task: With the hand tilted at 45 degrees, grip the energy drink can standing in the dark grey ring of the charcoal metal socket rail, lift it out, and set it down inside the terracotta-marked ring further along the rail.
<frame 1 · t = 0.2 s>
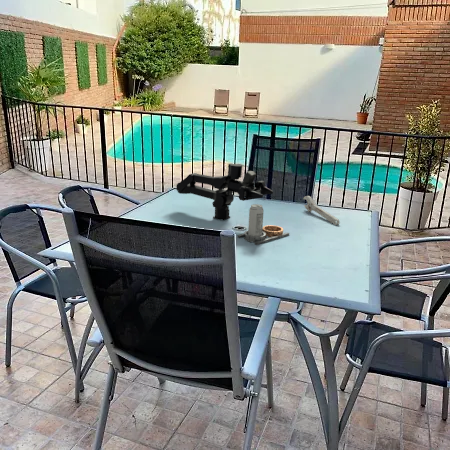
hand: (268, 194, 194), 17 cm above the table, tool horizontal, fingers open, 9 cm apart
wrench: (319, 217, 222), on the table
energy drink can: (254, 239, 186), resting in socket rail
socket rail: (263, 236, 190), on the table
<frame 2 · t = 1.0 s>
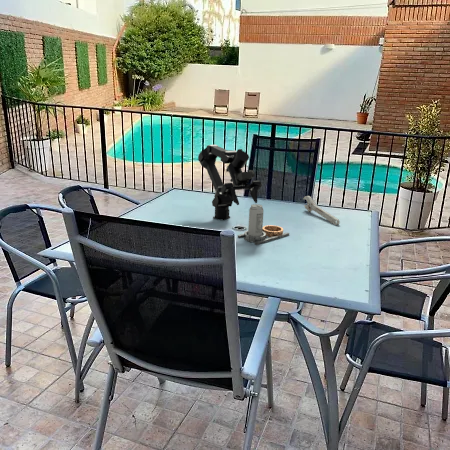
hand: (247, 203, 188), 14 cm above the table, tool tilted 45°, fingers open, 9 cm apart
nothing on the table moved.
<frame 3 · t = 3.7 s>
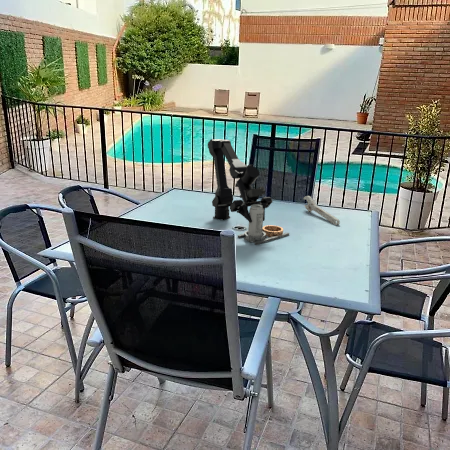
hand: (257, 221, 182), 8 cm above the table, tool tilted 45°, fingers closed on energy drink can, 6 cm apart
energy drink can: (254, 239, 186), resting in socket rail, touching gripper
everything else where it was.
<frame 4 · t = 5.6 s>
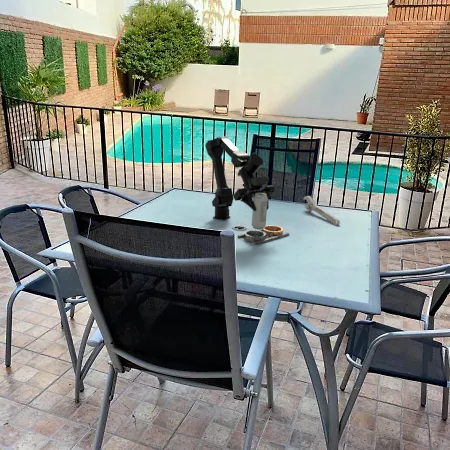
hand: (261, 209, 182), 13 cm above the table, tool tilted 45°, fingers closed on energy drink can, 6 cm apart
energy drink can: (258, 228, 186), point 5 cm above the table, touching gripper
everything else where it was.
when the fingers open (10 cm above the table, at t = 7.9 s): energy drink can drops 1 cm, resting in socket rail.
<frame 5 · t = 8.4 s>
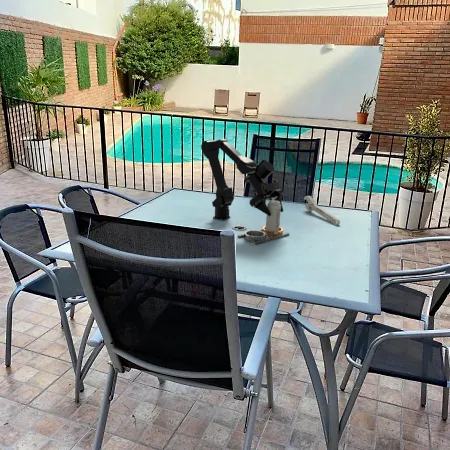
hand: (276, 213, 189), 10 cm above the table, tool tilted 45°, fingers open, 9 cm apart
energy drink can: (271, 234, 193), resting in socket rail
everything else where it was.
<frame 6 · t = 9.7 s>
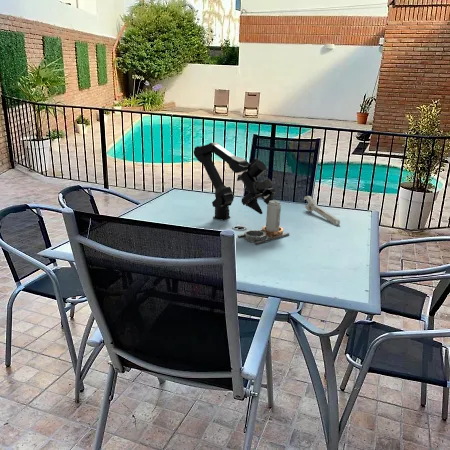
hand: (268, 211, 192), 10 cm above the table, tool tilted 45°, fingers open, 9 cm apart
nothing on the table moved.
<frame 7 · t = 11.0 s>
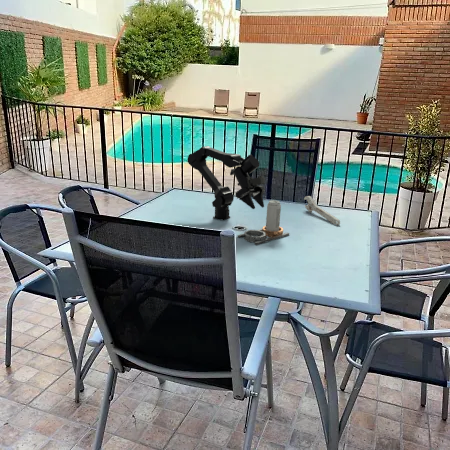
hand: (258, 207, 196), 10 cm above the table, tool tilted 40°, fingers open, 9 cm apart
nothing on the table moved.
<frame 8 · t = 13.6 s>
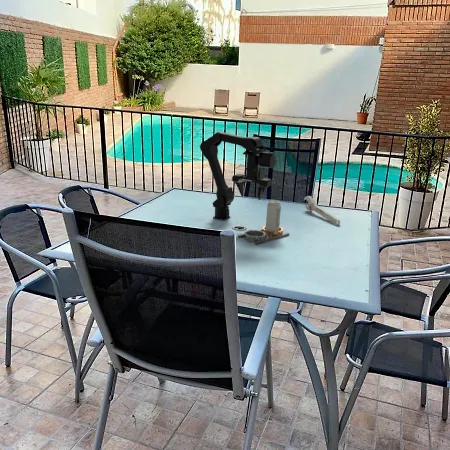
hand: (250, 198, 201), 13 cm above the table, tool pointing down, fingers open, 9 cm apart
nothing on the table moved.
at the end: energy drink can 0.2 cm from the target spot on the socket rail, point 0.0 cm above the socket rail's base; energy drink can tilted 0°; the gripper is holding nothing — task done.
